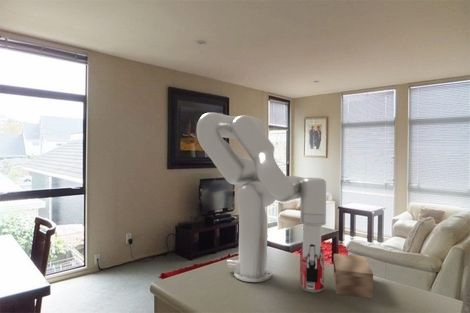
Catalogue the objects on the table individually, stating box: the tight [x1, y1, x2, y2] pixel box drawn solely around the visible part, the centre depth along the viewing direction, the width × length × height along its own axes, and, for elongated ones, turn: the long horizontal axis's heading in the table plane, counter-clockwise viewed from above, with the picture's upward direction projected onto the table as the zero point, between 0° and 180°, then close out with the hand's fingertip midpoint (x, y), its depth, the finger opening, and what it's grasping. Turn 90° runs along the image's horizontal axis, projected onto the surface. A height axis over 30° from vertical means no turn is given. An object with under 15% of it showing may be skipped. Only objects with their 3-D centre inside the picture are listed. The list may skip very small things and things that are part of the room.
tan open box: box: [332, 253, 374, 299], centre depth 98 cm, size 10×16×7 cm, turn 165°
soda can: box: [299, 244, 325, 294], centre depth 95 cm, size 7×7×13 cm
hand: (312, 276), depth 94 cm, fingers closed on soda can, 6 cm apart
